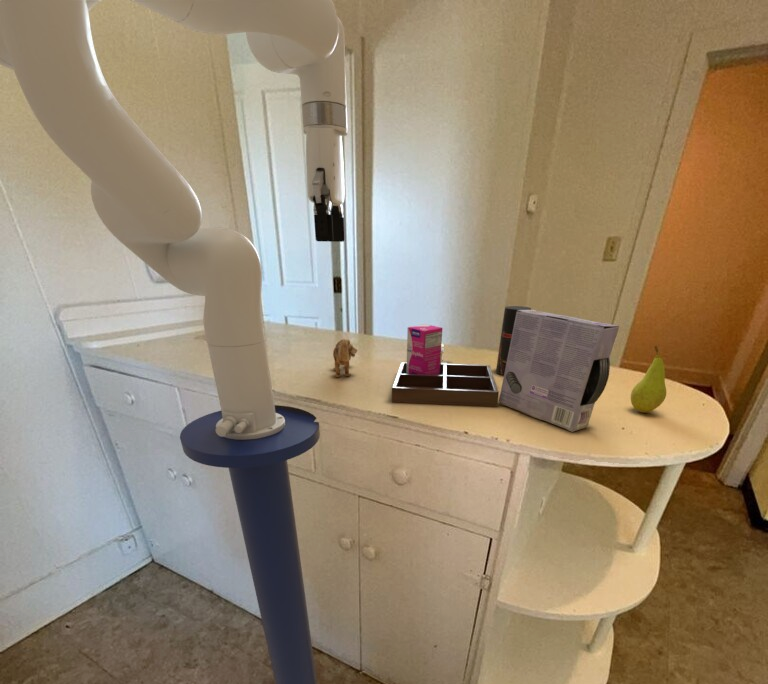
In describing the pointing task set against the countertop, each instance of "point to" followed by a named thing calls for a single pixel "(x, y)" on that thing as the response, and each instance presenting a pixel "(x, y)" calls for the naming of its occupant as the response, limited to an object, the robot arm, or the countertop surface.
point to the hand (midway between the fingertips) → (330, 241)
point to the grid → (447, 386)
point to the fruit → (650, 387)
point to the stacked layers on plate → (441, 355)
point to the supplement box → (424, 349)
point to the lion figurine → (343, 355)
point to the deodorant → (507, 336)
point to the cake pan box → (557, 367)
